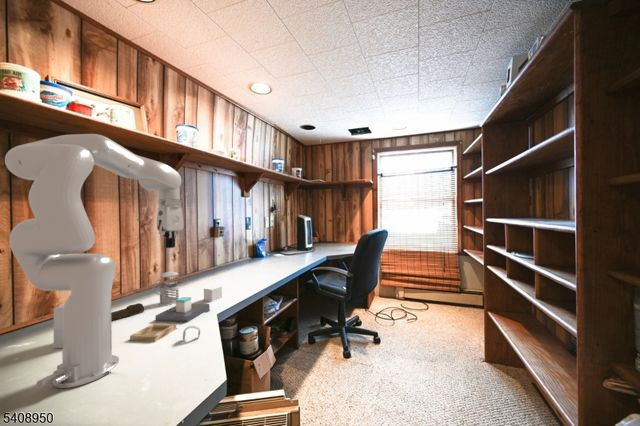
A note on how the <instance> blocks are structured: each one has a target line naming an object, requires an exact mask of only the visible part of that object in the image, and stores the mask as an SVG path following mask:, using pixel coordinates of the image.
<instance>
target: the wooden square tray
mask: <svg viewBox="0 0 640 426" xmlns="http://www.w3.org/2000/svg"><path fill="white" fill-rule="evenodd" d="M178 329H179V328H177V324H176V323H175V324H171V323H152V324H150V325H148V326H146V327H144V328H143V329H140V330H138V331H137V332H134V333H133V334H131V335H129V340H128V341H129V342H141V343H156V342H158V341H160V340H161V339H163V338H164V337H166V336H168V335H170V334H172V332H175V331H176V330H178Z"/></svg>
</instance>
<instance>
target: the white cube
mask: <svg viewBox="0 0 640 426" xmlns="http://www.w3.org/2000/svg"><path fill="white" fill-rule="evenodd" d="M220 298H221V299H222V298H223V287H222V286H219V285H211V286H208V287H204V288H203V300H204V301H205V300H207V301H206V302H210V301H213V302H216V301H218V300H220ZM217 299H218V300H217ZM215 300H216V301H215Z"/></svg>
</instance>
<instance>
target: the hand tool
mask: <svg viewBox="0 0 640 426" xmlns="http://www.w3.org/2000/svg"><path fill="white" fill-rule="evenodd" d="M144 312H145V306H144V305H143V304H142V303H141V302H140V303H134V304H131V305H130V304H129V305H128V306H126V307H125V308H123V309H119V310H116V311H111V322H112V321H114V320H119V319H121V318H124V317H125V318H126V317H128V318H131V317H134V316H137V315H139V314H142V313H144Z"/></svg>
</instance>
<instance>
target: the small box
mask: <svg viewBox="0 0 640 426" xmlns="http://www.w3.org/2000/svg"><path fill="white" fill-rule="evenodd" d="M63 306H64V304H62V305H60V306H56V307H54V308H53V349H62V310H63Z"/></svg>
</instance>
